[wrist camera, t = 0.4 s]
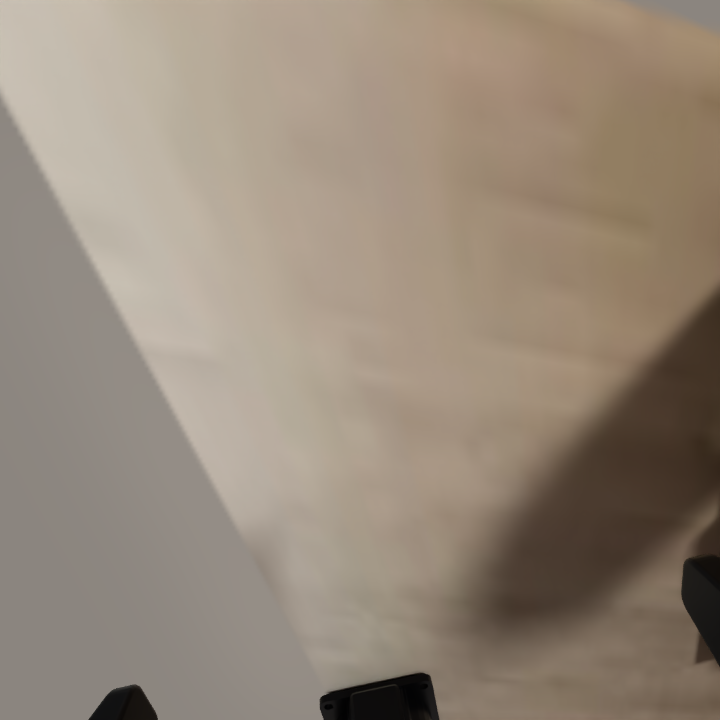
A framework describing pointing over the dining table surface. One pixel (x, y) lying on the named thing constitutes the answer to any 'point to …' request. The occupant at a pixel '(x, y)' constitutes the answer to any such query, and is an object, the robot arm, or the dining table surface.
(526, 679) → the dining table surface
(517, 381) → the dining table surface
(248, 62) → the dining table surface
